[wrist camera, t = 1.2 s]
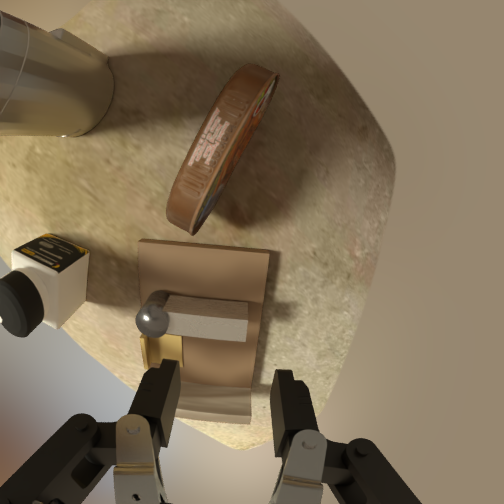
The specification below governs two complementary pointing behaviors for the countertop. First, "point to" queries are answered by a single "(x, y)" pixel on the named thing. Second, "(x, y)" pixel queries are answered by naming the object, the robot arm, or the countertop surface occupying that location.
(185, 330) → the swing bar
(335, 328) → the countertop surface
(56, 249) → the medicine bottle
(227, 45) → the countertop surface
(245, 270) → the board
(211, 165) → the tin
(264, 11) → the countertop surface
